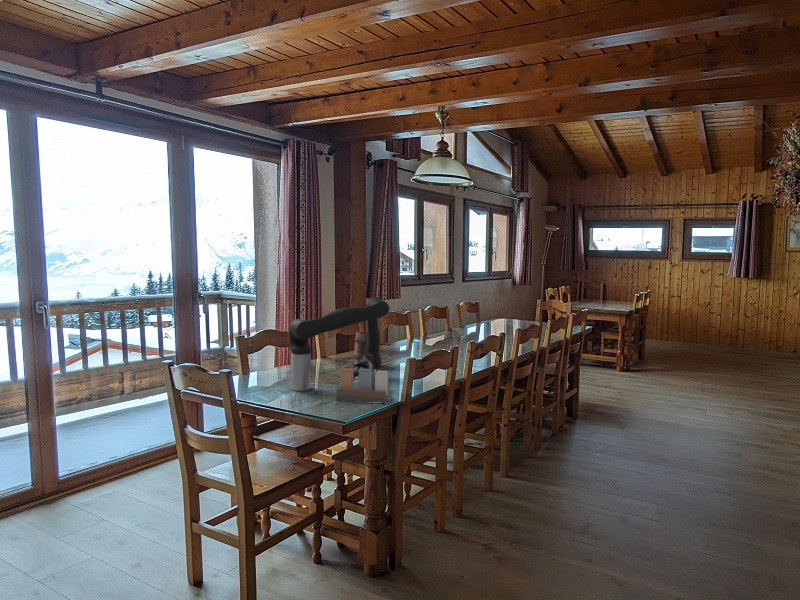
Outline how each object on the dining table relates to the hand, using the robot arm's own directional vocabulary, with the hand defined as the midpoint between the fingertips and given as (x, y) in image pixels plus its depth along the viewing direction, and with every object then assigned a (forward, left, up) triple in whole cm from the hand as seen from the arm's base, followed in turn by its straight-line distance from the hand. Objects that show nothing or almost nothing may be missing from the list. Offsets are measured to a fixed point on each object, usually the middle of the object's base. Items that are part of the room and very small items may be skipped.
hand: (353, 375), depth 256 cm
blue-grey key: (+11, +4, -6) cm, 13 cm away
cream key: (+16, +11, -6) cm, 20 cm away
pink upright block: (+10, -4, -6) cm, 12 cm away
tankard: (-58, +10, -8) cm, 59 cm away
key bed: (+13, +4, -8) cm, 16 cm away
